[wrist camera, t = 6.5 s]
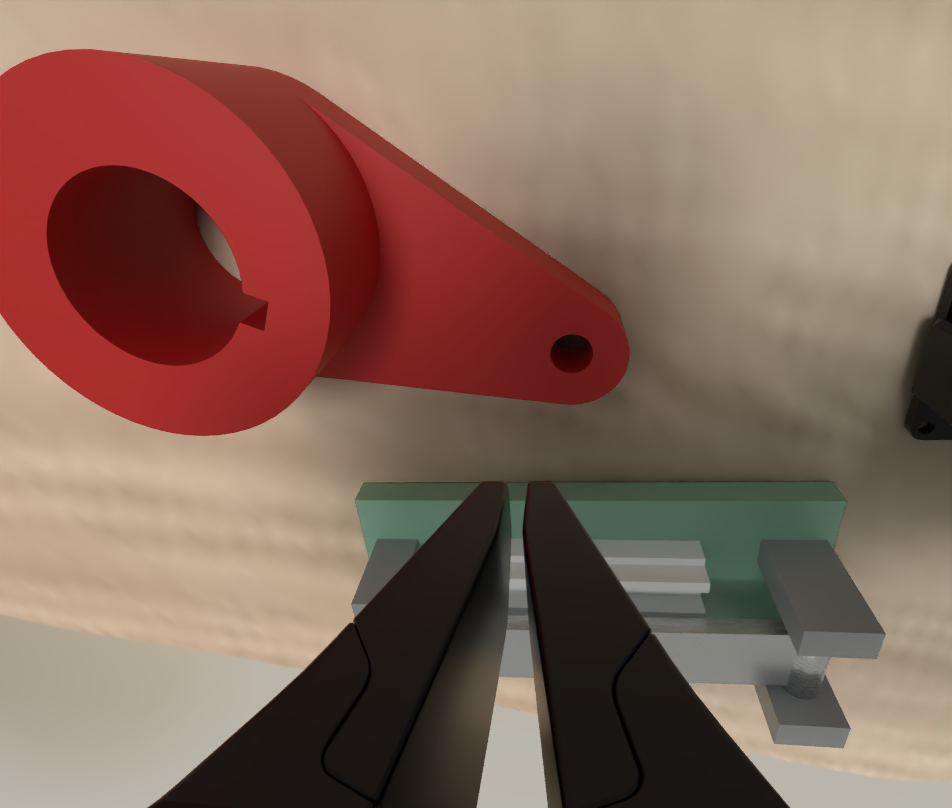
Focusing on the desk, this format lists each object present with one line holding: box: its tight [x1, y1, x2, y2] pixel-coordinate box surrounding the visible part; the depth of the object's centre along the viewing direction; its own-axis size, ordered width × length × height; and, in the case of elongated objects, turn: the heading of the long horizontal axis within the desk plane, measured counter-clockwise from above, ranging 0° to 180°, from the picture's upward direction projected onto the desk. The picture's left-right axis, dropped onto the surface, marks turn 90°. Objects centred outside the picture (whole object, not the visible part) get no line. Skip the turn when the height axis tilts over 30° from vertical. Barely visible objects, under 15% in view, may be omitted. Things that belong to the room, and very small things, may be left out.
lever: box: [0, 49, 629, 436], centre depth 17 cm, size 18×9×7 cm, turn 72°
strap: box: [499, 615, 830, 700], centre depth 22 cm, size 18×3×2 cm, turn 95°
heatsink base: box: [351, 482, 885, 748], centre depth 23 cm, size 19×10×6 cm, turn 95°
